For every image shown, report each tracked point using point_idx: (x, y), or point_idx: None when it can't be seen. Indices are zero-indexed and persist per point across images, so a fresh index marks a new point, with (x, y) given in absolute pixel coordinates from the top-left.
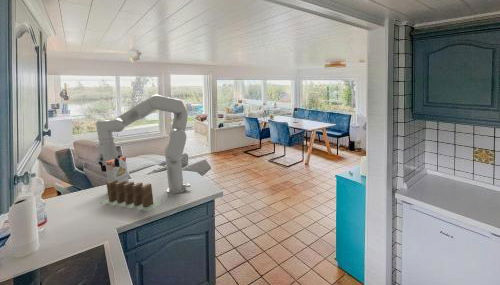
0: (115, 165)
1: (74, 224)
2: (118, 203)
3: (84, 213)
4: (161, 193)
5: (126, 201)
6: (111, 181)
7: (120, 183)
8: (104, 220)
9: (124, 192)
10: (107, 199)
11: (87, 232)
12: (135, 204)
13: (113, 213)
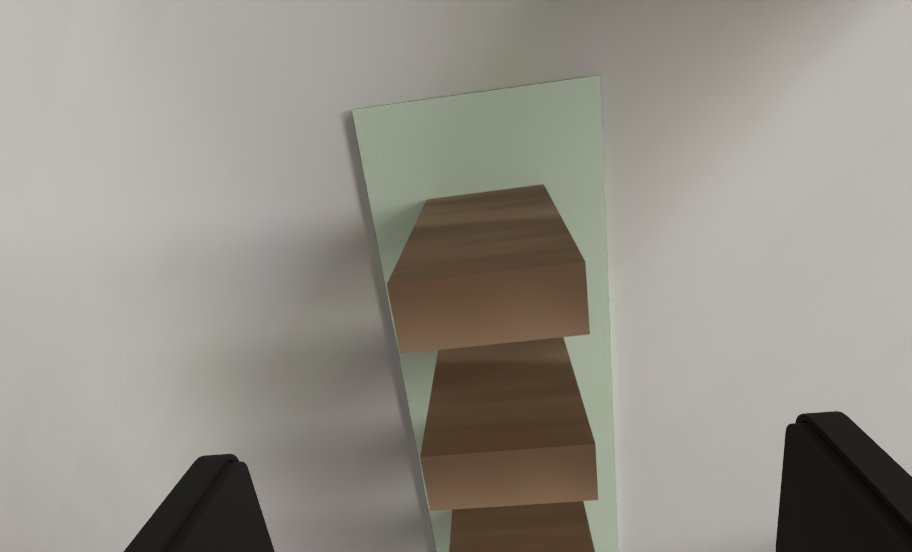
0: (810, 471)
1: (10, 345)
2: None
3: (140, 214)
4: None
5: None
6: (478, 307)
7: (487, 501)
8: None
9: (453, 510)
10: (458, 114)
11: (45, 527)
12: None
13: (297, 450)
